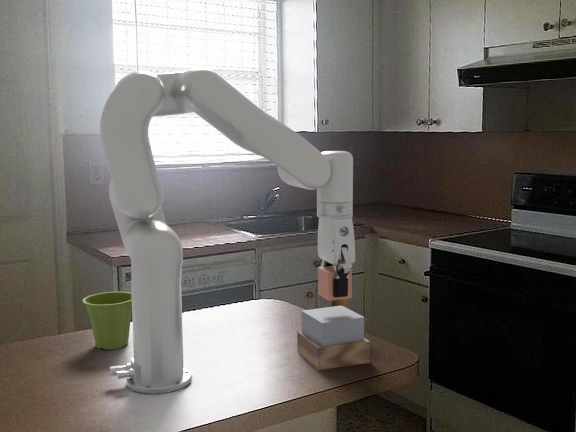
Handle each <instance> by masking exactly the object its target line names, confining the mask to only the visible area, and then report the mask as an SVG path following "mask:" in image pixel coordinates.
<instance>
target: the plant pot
mask: <svg viewBox="0 0 576 432" xmlns="http://www.w3.org/2000/svg"><path fill="white" fill-rule="evenodd" d="M82 303H83V304H84V306H85V308H86V313H88V318H89V321H90V322H89V323H90V325H91V330H92V334H93V338H94V342H95V346H96V348H97V349H104V350H108V351H109V350H110V351H112V350H118V349H120V348H123V347H124V346H127V345H128V344H129V337H130V330H131V329H130V328H131V319H132V301H131V292H129V291H107V292H101V293H96V294H91V295H87V296H86V297H84V298H82Z"/></svg>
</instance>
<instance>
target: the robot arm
mask: <svg viewBox="0 0 576 432" xmlns="http://www.w3.org/2000/svg"><path fill="white" fill-rule="evenodd" d="M190 113H195V114H196V115H197V116H199V118H200V119H203V120H204V121H205V122H207V123H208V124H209V125H210V126H212V127H213V128H215V129H216V130H217V131H218V132H220V133H221V134H222V136H224V137H225V138H227V139H228V140H230V142H232V143H234V144H235V145H237V146H238V147H241V148H242V149H244V150H245V151H248V152H251V153H253V154H255V155H258V156H260V157H262V158H264V159H265V160H267V161H269V162H270V163H272V164H274V165H276V167H277V173H278V176H279V177H280V178H279V179H280V180H282V181H283V182H284V183H285V184H287V185H289V186H293V187H296V188H302V189H305V190H310V191H312V190H314V191H315V190H316V217H317V218H318V225H317V227H318V228H317V256H318V257H319V259H320V261H319V262H320V264H321V265H320V267H329V266H333V267H334V275H335V278H334V279H333V297H335V298H336V297H346V296H348V278H349V272H350V270H352V267H353V264H354V263H355V262H356V247H355V246H356V242H355V230H354V229H355V228H354V221H353V216H354V215H353V210H354V209H353V207H354V206H353V205H354V204H353V203H354V202H353V201H354V198H353V197H354V193H353V191H354V190H353V189H354V185H353V184H354V181H353V180H354V158H353V155H352V153H351V152H349V151H346V150H325V151H322V152H321V151H320V150H319V149H318V148H317V147H316V146H314V145H313V144H311V142H309V141H308V140H306V138H304V137H303V136H301V134H299V133H298V132H296V131H294V130H293V129H291V128H290V127H288V126H287V125H285V124H284V123H282V122H281V121H279V120H278V119H276V118H275V117H273V116H272V115H270V114H269V113H268V112H266V111H264V110H263V109H262V108H260V107H258V106H257V105H256V103H254V102H252V100H250V99H248V98H247V97H246V96H245V95H244V94H242V93H241V92H240V91H239V90H238V89H236V88H235V87H234V86H233V85H231V84H230V83H229V82H228V81H226V80H225V78H223V77H222V76H220V75H219V74H218V73H217V72H215V71H214V70H212V69H210V68H207V67H203V66H199V67H198V66H197V67H194V68H190V69H188V70H182V71H175V72H163V73H153V72H151V71H146V70H136V71H133V72H131V73H128V74H127V75H125V76H124V77H122V78H120V80H119V81H118V82H117V83H116V85H115V87H114V89H113V91H112V92H111V93H110V94H109V96H108V97H107V99H106V101H105V104H104V107H103V108H102V112H101V116H100V122H99V123H100V124H99V134H100V141H101V145H102V150H103V153H104V157H105V163H106V165H107V170H108V173H109V176H110V182H109V185H108V194H109V200H110V204H111V207H112V211H113V214H114V218H115V220H116V223H117V224H116V225H117V226H118V227H117V228H118V231H119V234H120V237H121V240H122V244H123V247H124V249H125V251H126V253H127V254H128V256H129V258H130V263H131V266H130V267H131V268H130V269H131V274H130V275H131V276H130V277H131V278H130V285H131V286H130V289H131V290H130V291H131V292H130V293H131V301H132V312H131V319H132V342H133V357H130V362H126V363H125V364H123V365H118V364H117V365H113V366H109V375H110V377H117V379H118V380H119V379H126V386H127V388H129V389H130V390H132V391H134V392H137V393H141V394H164V393H165V394H166V393H170V392H174V391H175V392H176V391H178V390H180V389H183V388H185V387H186V386H188V385H189V384H190V383H191V381H192V379H193V377H192V372H191V371H190V370H189V369H188V368H186V367H185V366H184V345H183V343H184V340H183V339H184V338H183V306H182V305H183V304H182V272H183V261H184V258H183V257H184V255H183V254H184V253H183V252H184V251H183V245H182V243H181V239H180V237H179V236H178V234H177V233H176V232H175V231H174V230H173V228H172V227H170V226H169V225H167V221H166V218H165V214H164V210H163V207H162V206H163V202H164V197H165V195H164V194H165V193H164V187H163V185H162V182H161V179H160V177H159V173H158V169H157V167H156V163H155V159H154V155H153V151H152V147H151V143H150V138H149V127H150V126H149V125H150V123H151V120H152V119H153V117H165V116H166V117H167V116H175V115H177V116H178V115H184V114H190ZM338 261H343V263H340V264H338ZM338 267H342V268H340V270H339V271H338Z"/></svg>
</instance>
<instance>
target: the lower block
mask: <svg viewBox="0 0 576 432" xmlns="http://www.w3.org/2000/svg"><path fill="white" fill-rule="evenodd" d="M296 333H297V334H296V335H297V336H296V338H297V339H296V340H297V345H296V348H297V349H296V350H297V353H298V354H300V355H301V356H302V357H303V358H304V359H305V360H306V361H307V362H308V363H309V364H311V366H313V367H314V368H315V369H317V371H319V370H327V369H334V368H341V367H348V366H356V365H362V364H369V363H371V341H370V340H369V339H367V338H366V337H364V340H360V341H354V342H347V343H341V344H335V345H328V346H321V345H319V344H318V343H316V342H315V341H313V340H312V339H310V338H309V337H307V336H306V335H304V334H303V333H302V330H297V331H296Z"/></svg>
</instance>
